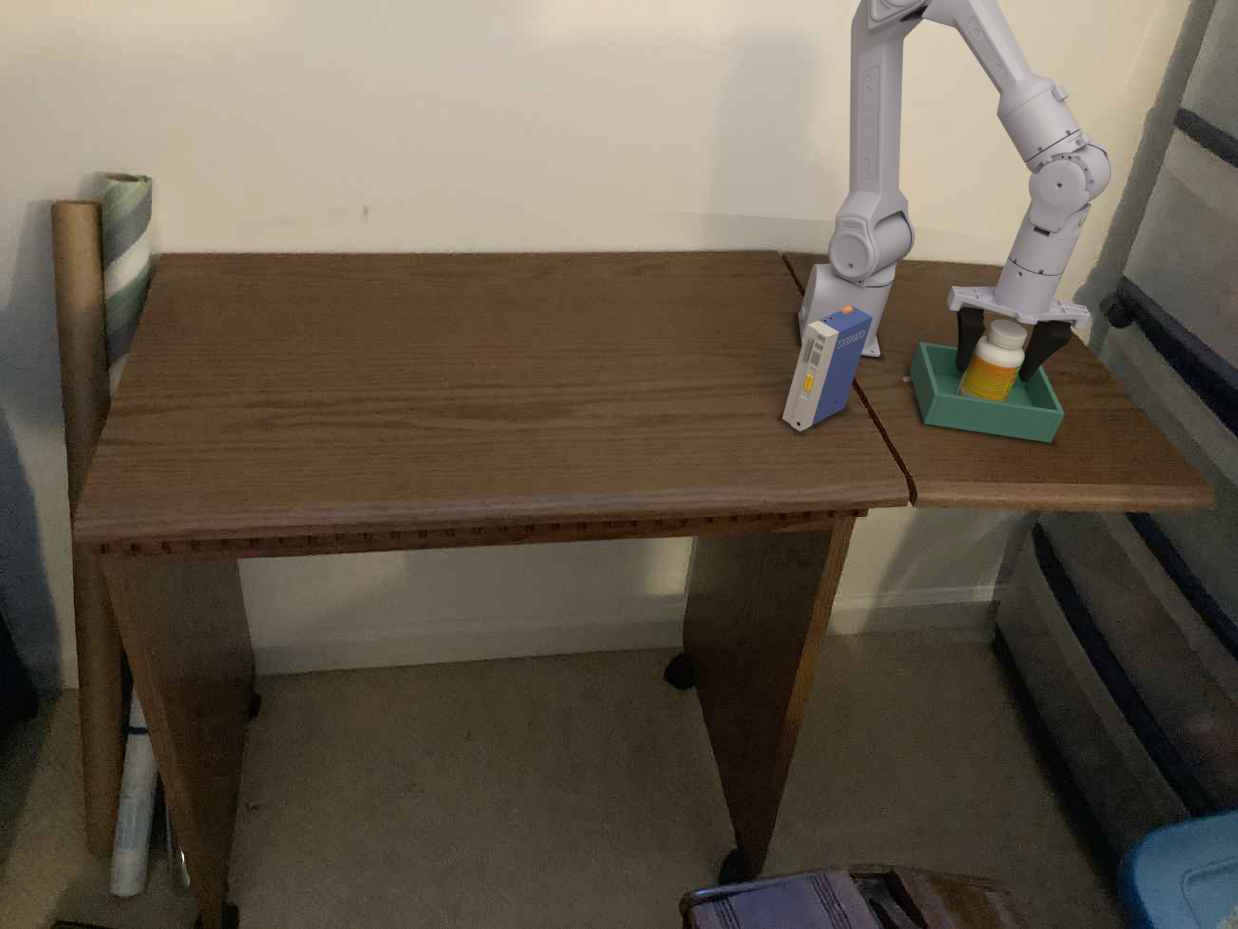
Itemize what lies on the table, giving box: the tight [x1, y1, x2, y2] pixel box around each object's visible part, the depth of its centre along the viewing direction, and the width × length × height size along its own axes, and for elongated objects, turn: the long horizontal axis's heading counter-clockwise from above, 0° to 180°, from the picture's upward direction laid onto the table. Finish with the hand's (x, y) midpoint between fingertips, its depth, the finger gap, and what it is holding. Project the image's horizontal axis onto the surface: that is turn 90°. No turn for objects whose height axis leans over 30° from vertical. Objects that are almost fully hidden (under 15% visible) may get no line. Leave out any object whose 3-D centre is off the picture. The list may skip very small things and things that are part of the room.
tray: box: [908, 341, 1065, 444], centre depth 115 cm, size 14×11×4 cm
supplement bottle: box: [956, 319, 1028, 402], centre depth 113 cm, size 5×5×10 cm
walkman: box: [781, 306, 873, 432], centre depth 106 cm, size 8×3×12 cm, turn 133°
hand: (990, 372), depth 113 cm, fingers open, 6 cm apart
